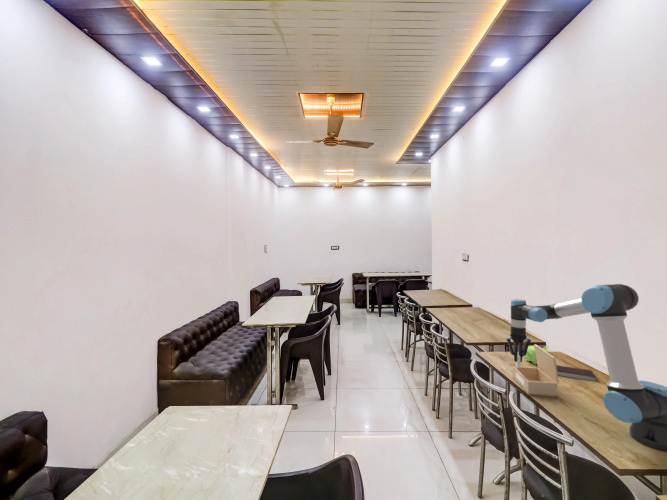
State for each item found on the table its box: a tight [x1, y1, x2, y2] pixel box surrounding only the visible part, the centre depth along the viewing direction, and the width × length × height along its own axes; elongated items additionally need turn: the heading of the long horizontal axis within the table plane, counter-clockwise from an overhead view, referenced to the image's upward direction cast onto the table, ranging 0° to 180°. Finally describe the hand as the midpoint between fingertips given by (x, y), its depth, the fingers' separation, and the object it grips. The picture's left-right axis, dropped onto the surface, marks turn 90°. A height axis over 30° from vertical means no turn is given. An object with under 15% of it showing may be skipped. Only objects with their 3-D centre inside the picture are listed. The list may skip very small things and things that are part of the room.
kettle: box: [523, 345, 549, 365], centre depth 218 cm, size 15×14×11 cm
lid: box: [533, 343, 560, 384], centre depth 180 cm, size 23×13×1 cm
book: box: [556, 364, 597, 382], centre depth 197 cm, size 12×19×3 cm, turn 62°
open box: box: [512, 365, 558, 397], centre depth 181 cm, size 22×14×7 cm, turn 170°
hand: (518, 367), depth 183 cm, fingers closed
